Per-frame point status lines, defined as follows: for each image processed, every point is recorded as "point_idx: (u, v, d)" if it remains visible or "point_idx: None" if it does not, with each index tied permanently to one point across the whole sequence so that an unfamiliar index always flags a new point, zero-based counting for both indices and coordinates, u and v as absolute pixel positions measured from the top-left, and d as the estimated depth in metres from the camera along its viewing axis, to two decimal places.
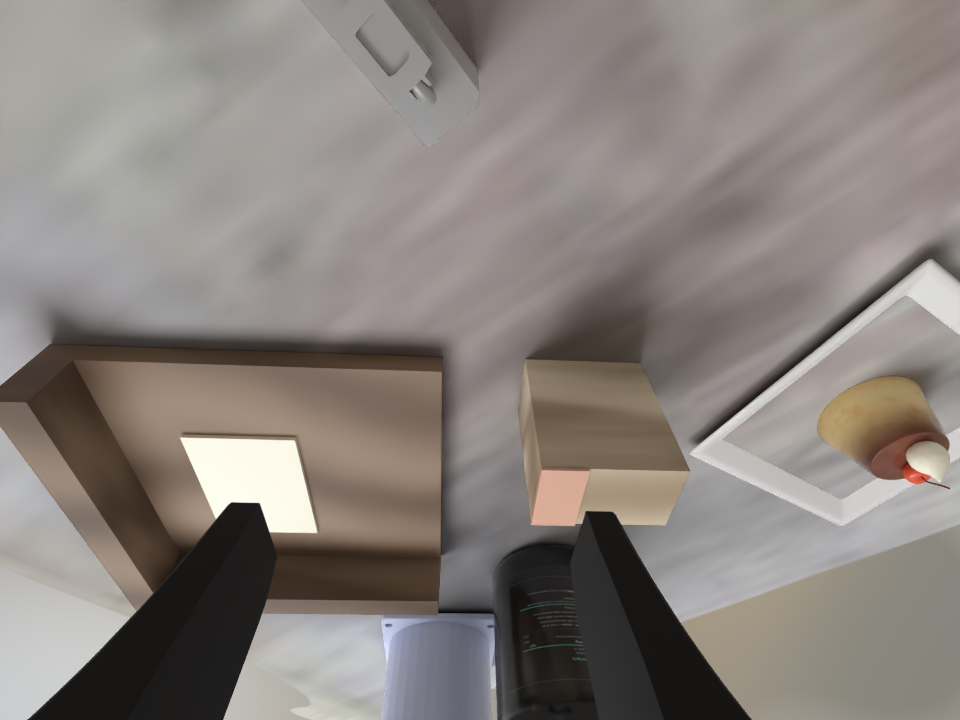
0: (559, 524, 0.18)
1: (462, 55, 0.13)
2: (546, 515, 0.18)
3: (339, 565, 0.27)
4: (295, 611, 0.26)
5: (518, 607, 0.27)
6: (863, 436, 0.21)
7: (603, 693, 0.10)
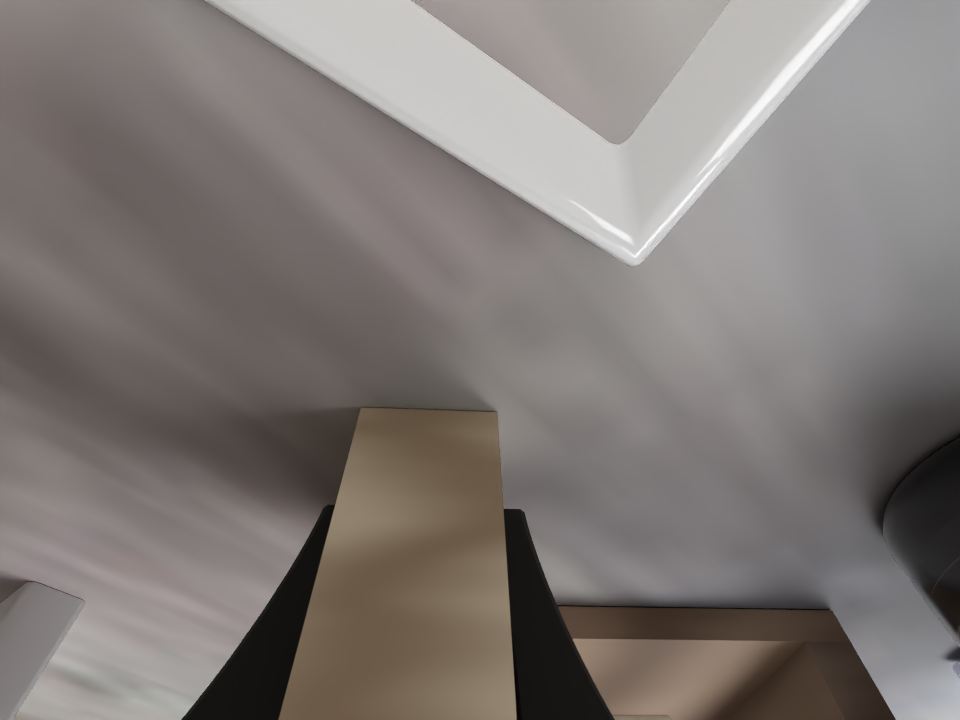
0: None
1: None
2: None
3: None
4: None
5: None
6: None
7: None
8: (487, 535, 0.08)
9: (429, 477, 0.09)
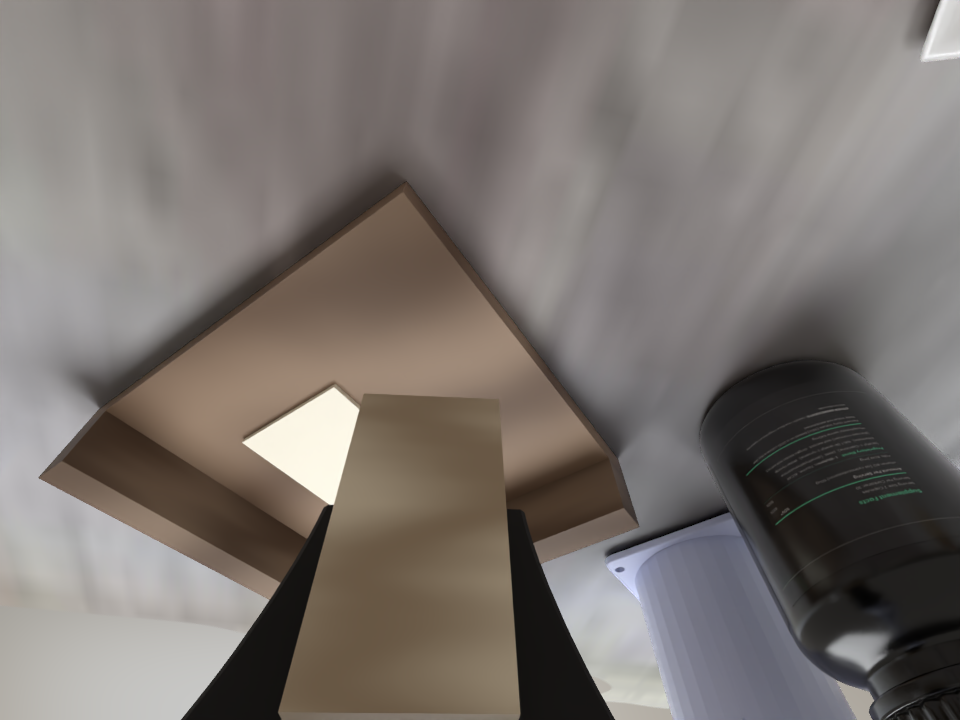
0: None
1: None
2: None
3: None
4: None
5: (743, 472, 0.18)
6: None
7: None
8: (488, 517, 0.09)
9: (431, 461, 0.09)
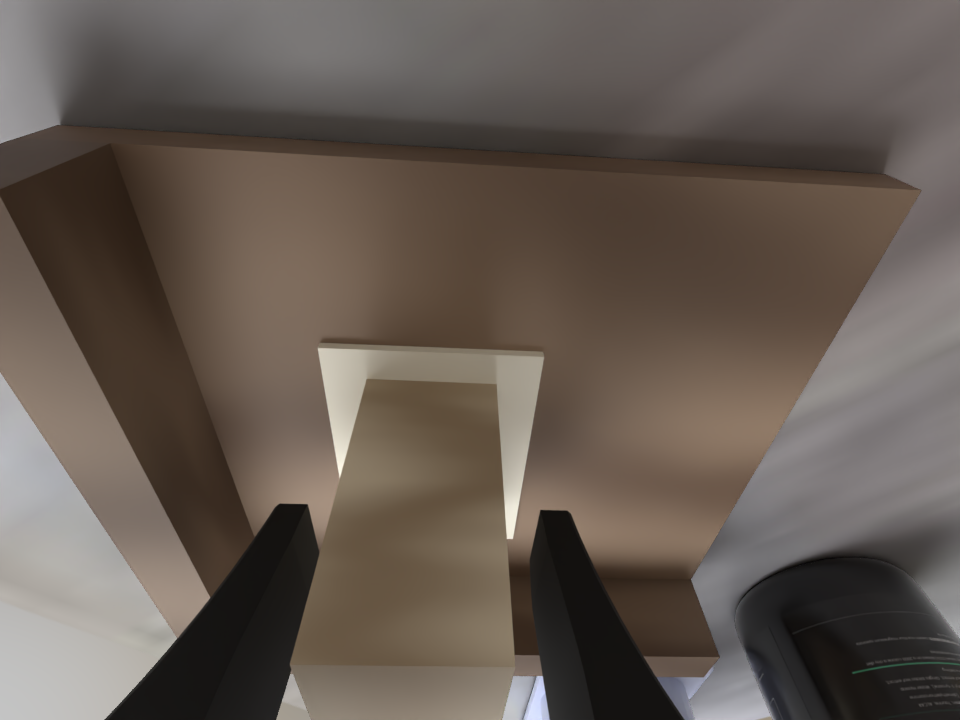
0: None
1: None
2: None
3: None
4: None
5: (846, 667, 0.16)
6: None
7: (552, 693, 0.10)
8: (486, 491, 0.09)
9: (432, 441, 0.10)
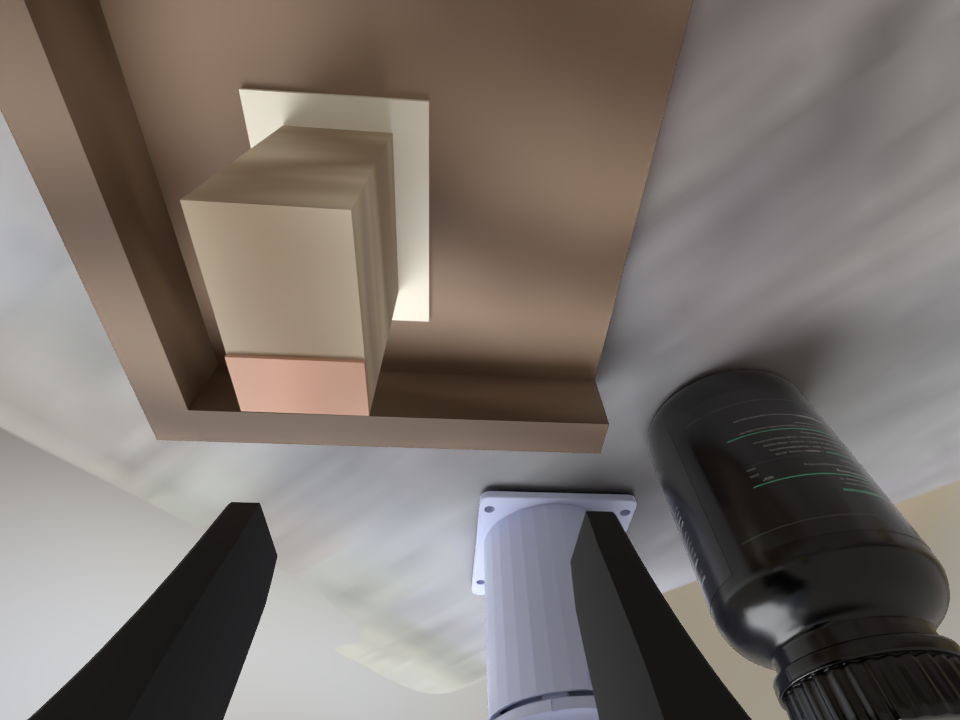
0: (361, 382, 0.11)
1: None
2: (341, 400, 0.11)
3: (453, 383, 0.19)
4: (393, 442, 0.18)
5: (723, 439, 0.18)
6: None
7: (603, 693, 0.10)
8: (361, 163, 0.11)
9: (326, 147, 0.12)
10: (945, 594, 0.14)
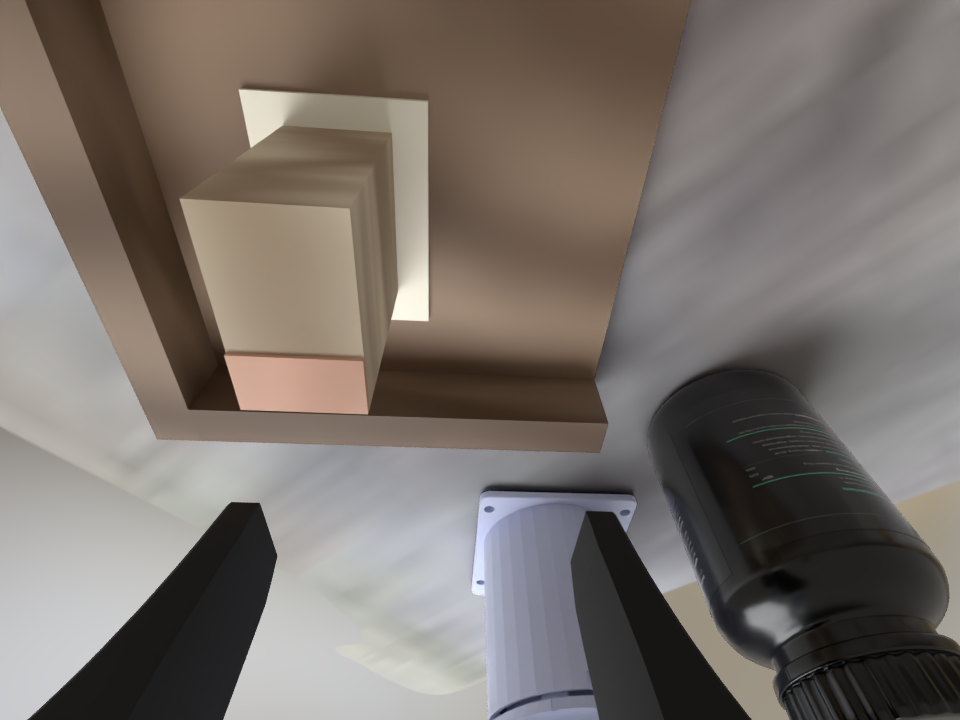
0: (360, 381, 0.11)
1: None
2: (340, 398, 0.12)
3: (452, 382, 0.19)
4: (392, 441, 0.18)
5: (722, 439, 0.18)
6: None
7: (603, 693, 0.10)
8: (360, 162, 0.11)
9: (325, 146, 0.12)
10: (945, 593, 0.14)
